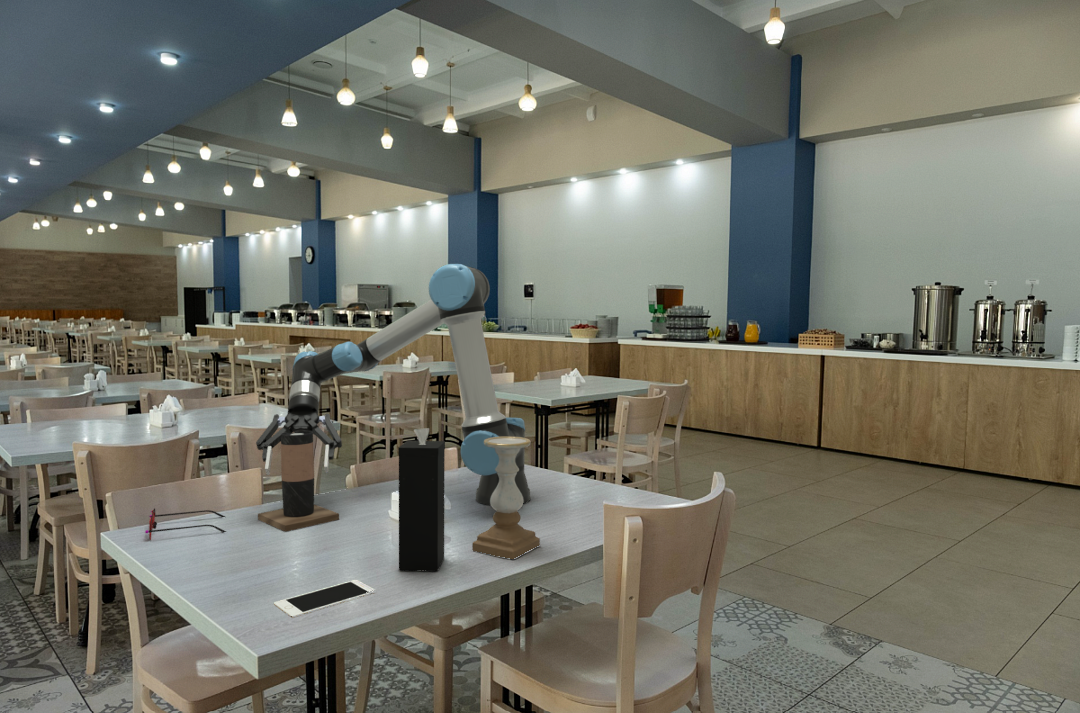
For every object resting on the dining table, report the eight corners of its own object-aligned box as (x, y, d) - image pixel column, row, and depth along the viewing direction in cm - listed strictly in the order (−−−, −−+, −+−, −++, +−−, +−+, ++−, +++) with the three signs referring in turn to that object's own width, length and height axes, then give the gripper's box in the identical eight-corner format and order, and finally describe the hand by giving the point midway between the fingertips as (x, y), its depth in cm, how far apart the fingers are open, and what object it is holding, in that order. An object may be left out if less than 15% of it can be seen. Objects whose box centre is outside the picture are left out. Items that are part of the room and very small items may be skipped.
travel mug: (308, 517, 166) (306, 435, 165) (277, 517, 166) (275, 435, 166) (319, 509, 174) (317, 430, 173) (289, 509, 174) (287, 430, 173)
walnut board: (339, 519, 170) (339, 513, 170) (285, 531, 160) (285, 525, 160) (310, 508, 180) (310, 502, 180) (258, 519, 170) (258, 513, 170)
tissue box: (407, 557, 144) (407, 424, 142) (444, 558, 143) (445, 425, 142) (398, 571, 136) (398, 430, 134) (437, 572, 135) (438, 431, 134)
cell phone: (272, 605, 120) (272, 602, 120) (356, 582, 131) (356, 579, 131) (292, 620, 114) (292, 616, 114) (377, 594, 125) (377, 590, 125)
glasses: (149, 526, 165) (149, 505, 164) (225, 518, 172) (225, 498, 172) (145, 543, 152) (144, 521, 152) (227, 534, 159) (226, 513, 159)
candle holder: (513, 560, 142) (513, 446, 141) (471, 550, 148) (471, 441, 147) (541, 546, 152) (542, 438, 151) (500, 537, 158) (501, 434, 156)
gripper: (353, 409, 186) (350, 477, 172) (255, 411, 181) (244, 481, 167) (352, 392, 181) (349, 460, 167) (251, 393, 176) (239, 464, 162)
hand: (296, 470), depth 167 cm, fingers open, 13 cm apart
